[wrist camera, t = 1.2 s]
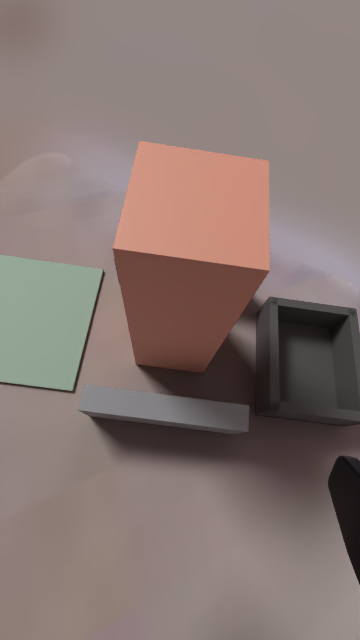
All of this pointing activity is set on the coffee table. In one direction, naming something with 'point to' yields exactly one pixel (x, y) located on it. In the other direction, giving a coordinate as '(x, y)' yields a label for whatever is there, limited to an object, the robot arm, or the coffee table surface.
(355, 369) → the dark grey open box
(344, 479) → the robot arm
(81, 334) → the sage mat
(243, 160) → the salmon-pink block
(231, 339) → the coffee table surface
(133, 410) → the grey parallel walls
